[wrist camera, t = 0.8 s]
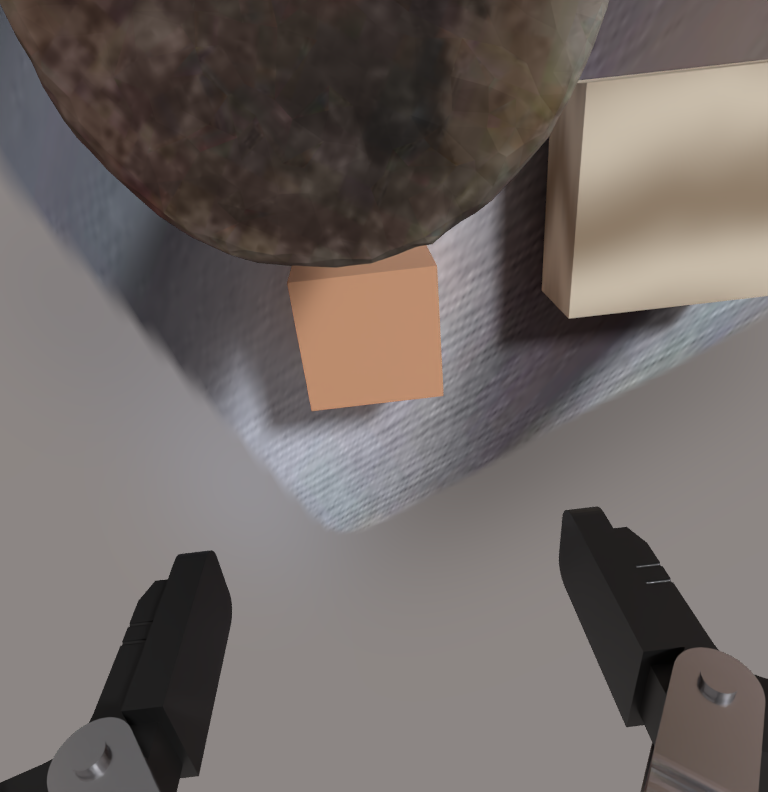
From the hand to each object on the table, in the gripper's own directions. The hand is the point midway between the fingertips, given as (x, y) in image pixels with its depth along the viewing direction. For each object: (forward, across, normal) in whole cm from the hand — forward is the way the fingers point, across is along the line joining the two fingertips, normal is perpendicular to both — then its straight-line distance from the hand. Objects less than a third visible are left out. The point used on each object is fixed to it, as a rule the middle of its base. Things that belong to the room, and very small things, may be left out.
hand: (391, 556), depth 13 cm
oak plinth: (+18, -14, -4) cm, 23 cm away
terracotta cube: (+18, 0, 0) cm, 18 cm away
